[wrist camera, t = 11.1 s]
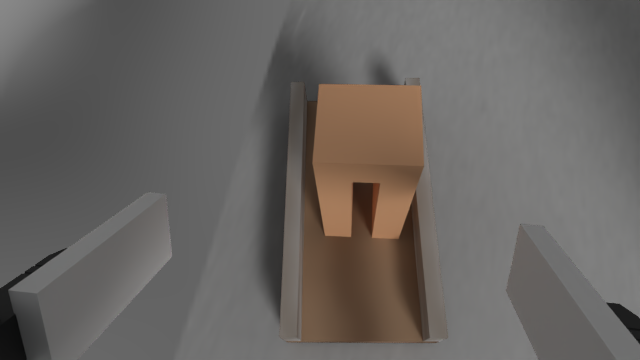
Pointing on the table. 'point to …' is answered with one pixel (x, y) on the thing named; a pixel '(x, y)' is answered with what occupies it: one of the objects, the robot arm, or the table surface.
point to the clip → (368, 153)
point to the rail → (355, 258)
